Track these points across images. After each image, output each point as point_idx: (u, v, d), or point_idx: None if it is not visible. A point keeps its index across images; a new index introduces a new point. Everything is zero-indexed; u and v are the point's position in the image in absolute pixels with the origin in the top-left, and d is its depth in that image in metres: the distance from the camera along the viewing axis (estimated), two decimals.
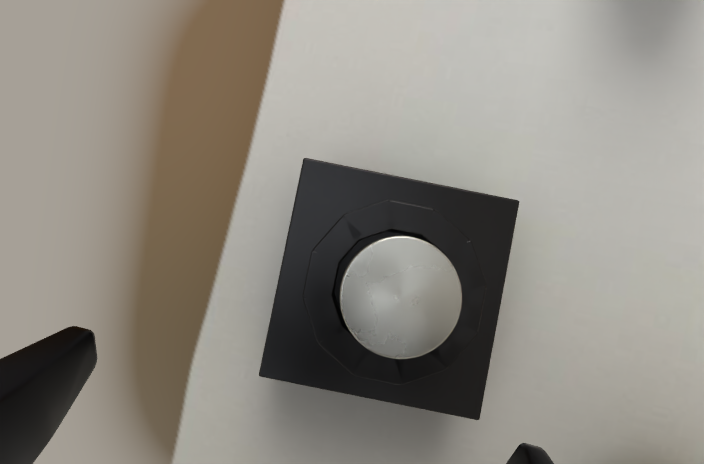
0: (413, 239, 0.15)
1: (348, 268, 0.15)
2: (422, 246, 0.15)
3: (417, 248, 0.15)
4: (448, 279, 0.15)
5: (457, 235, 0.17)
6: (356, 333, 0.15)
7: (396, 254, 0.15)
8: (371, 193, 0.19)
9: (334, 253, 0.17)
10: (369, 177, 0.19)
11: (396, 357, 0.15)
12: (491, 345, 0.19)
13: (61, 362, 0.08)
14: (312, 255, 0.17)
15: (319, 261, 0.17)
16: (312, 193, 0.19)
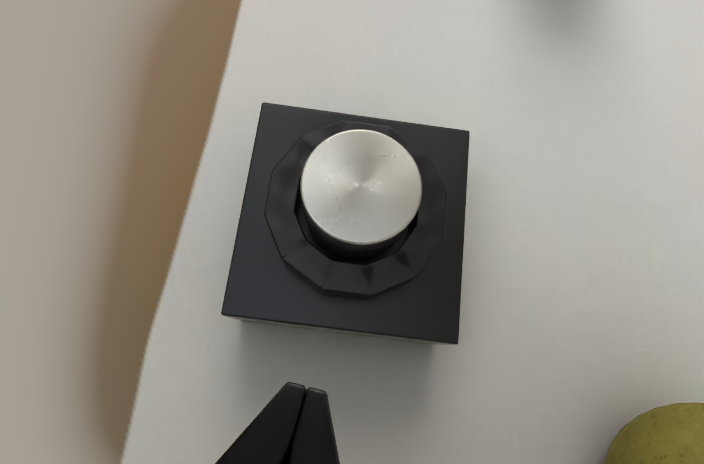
0: (369, 131, 0.16)
1: (307, 160, 0.15)
2: (378, 137, 0.16)
3: (373, 139, 0.16)
4: (406, 165, 0.16)
5: (413, 148, 0.18)
6: (319, 220, 0.15)
7: (354, 145, 0.16)
8: None
9: (294, 170, 0.18)
10: (326, 116, 0.20)
11: (361, 242, 0.15)
12: (460, 265, 0.19)
13: (295, 423, 0.08)
14: (272, 174, 0.18)
15: (280, 178, 0.17)
16: (272, 132, 0.20)
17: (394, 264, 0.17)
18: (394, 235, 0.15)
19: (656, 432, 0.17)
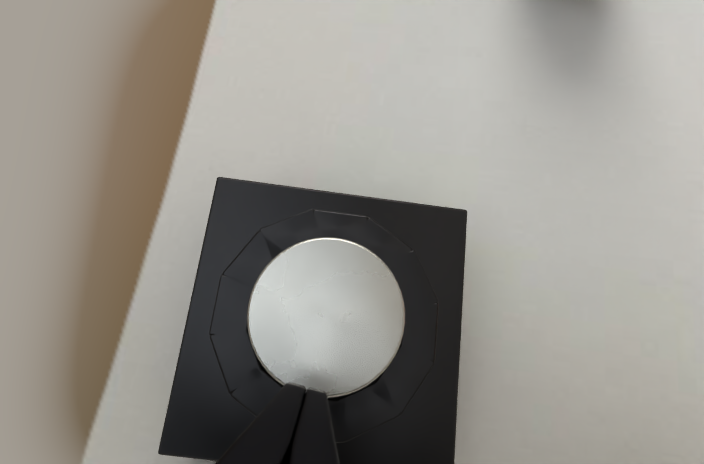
0: (338, 240, 0.12)
1: (257, 281, 0.12)
2: (349, 248, 0.12)
3: (343, 251, 0.12)
4: (385, 286, 0.12)
5: (397, 244, 0.15)
6: (270, 366, 0.11)
7: (318, 260, 0.12)
8: (298, 211, 0.17)
9: (249, 276, 0.14)
10: (294, 193, 0.17)
11: None
12: (456, 384, 0.15)
13: (295, 423, 0.08)
14: (221, 280, 0.14)
15: (230, 287, 0.14)
16: (227, 215, 0.16)
17: (372, 400, 0.13)
18: (368, 383, 0.12)
19: None
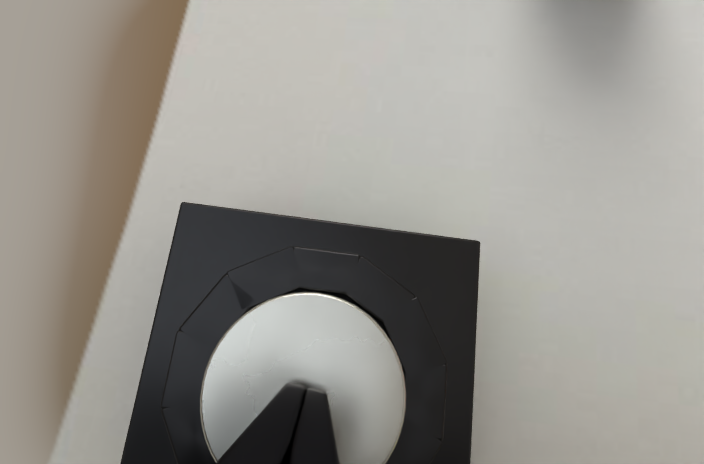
0: (320, 296, 0.10)
1: (214, 352, 0.09)
2: (334, 306, 0.10)
3: (326, 310, 0.10)
4: (380, 357, 0.09)
5: (396, 290, 0.12)
6: None
7: (294, 323, 0.09)
8: (277, 244, 0.14)
9: (212, 332, 0.11)
10: (273, 222, 0.14)
11: None
12: (468, 457, 0.13)
13: (295, 423, 0.08)
14: (177, 338, 0.11)
15: (188, 346, 0.11)
16: (192, 249, 0.14)
17: None
18: None
19: None
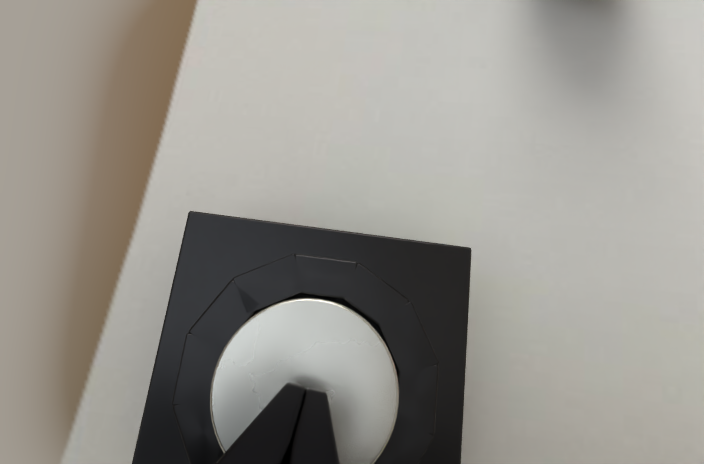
0: (319, 302, 0.10)
1: (222, 353, 0.10)
2: (333, 311, 0.10)
3: (326, 315, 0.10)
4: (375, 358, 0.10)
5: (391, 295, 0.13)
6: None
7: (296, 327, 0.10)
8: (279, 250, 0.15)
9: (219, 334, 0.12)
10: (276, 230, 0.15)
11: None
12: (459, 452, 0.13)
13: (295, 423, 0.08)
14: (187, 339, 0.12)
15: (197, 347, 0.12)
16: (200, 255, 0.14)
17: None
18: None
19: None
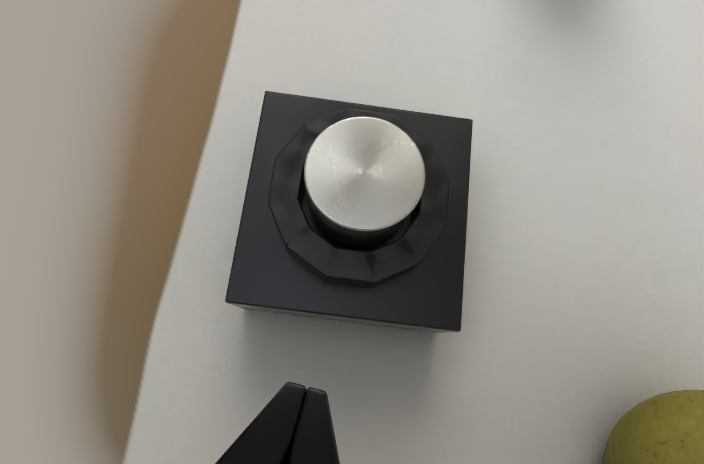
0: (372, 118, 0.16)
1: (311, 147, 0.15)
2: (381, 124, 0.16)
3: (377, 126, 0.16)
4: (409, 152, 0.16)
5: (416, 136, 0.18)
6: (322, 207, 0.15)
7: (357, 132, 0.16)
8: None
9: (298, 158, 0.18)
10: (329, 104, 0.20)
11: (365, 228, 0.15)
12: (463, 253, 0.19)
13: (295, 423, 0.08)
14: (276, 161, 0.18)
15: (283, 166, 0.18)
16: (275, 121, 0.20)
17: (397, 251, 0.17)
18: (397, 222, 0.15)
19: (657, 418, 0.18)
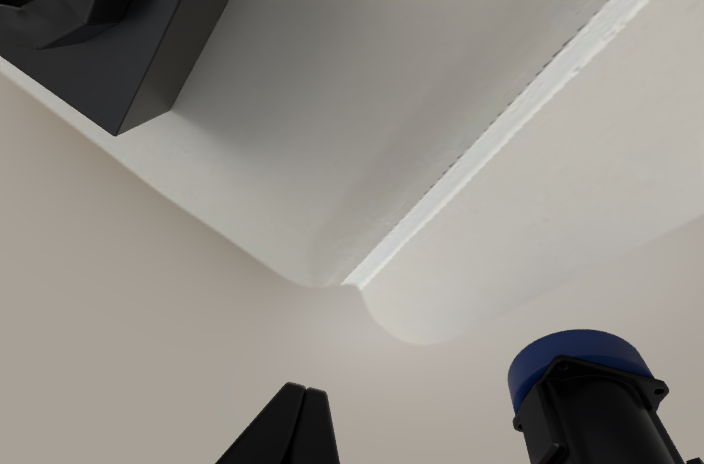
0: None
1: None
2: None
3: None
4: None
5: None
6: None
7: None
8: None
9: None
10: None
11: None
12: None
13: (295, 423, 0.08)
14: None
15: None
16: None
17: None
18: None
19: None
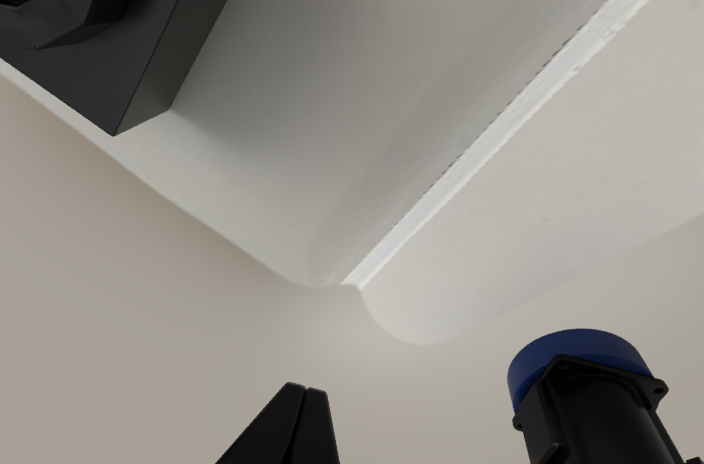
0: None
1: None
2: None
3: None
4: None
5: None
6: None
7: None
8: None
9: None
10: None
11: None
12: None
13: None
14: None
15: None
16: None
17: None
18: None
19: None
